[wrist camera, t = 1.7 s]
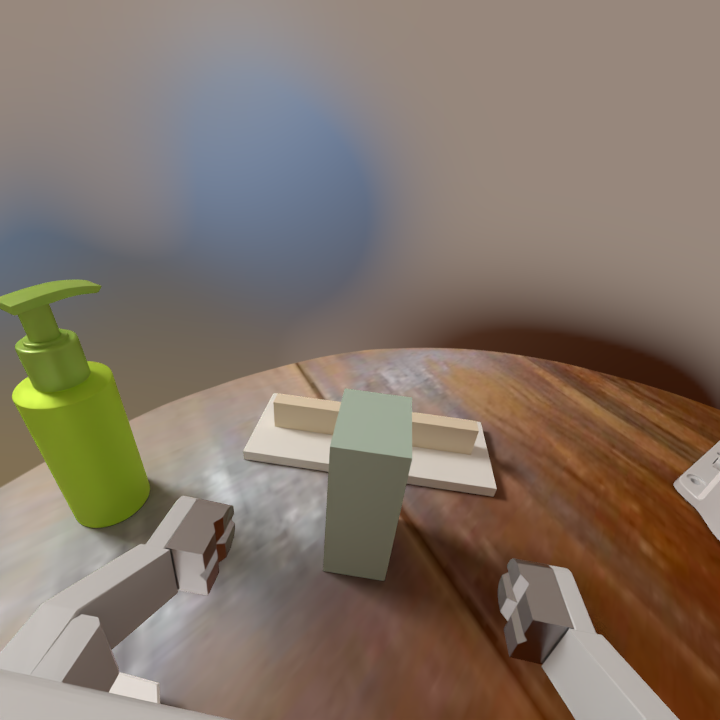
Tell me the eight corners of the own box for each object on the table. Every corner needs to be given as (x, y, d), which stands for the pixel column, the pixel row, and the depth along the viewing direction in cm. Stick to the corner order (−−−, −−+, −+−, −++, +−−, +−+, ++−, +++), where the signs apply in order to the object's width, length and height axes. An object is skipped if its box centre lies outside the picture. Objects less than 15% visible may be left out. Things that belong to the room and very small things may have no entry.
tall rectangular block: (388, 515, 35) (412, 397, 27) (384, 581, 30) (412, 458, 22) (335, 507, 35) (344, 388, 27) (323, 570, 30) (329, 446, 22)
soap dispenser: (173, 481, 36) (118, 285, 25) (102, 540, 30) (-6, 322, 20) (132, 457, 38) (66, 267, 27) (59, 508, 32) (-59, 295, 22)
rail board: (478, 429, 46) (488, 399, 43) (493, 496, 37) (507, 464, 35) (273, 400, 47) (272, 370, 45) (244, 459, 39) (240, 425, 36)
